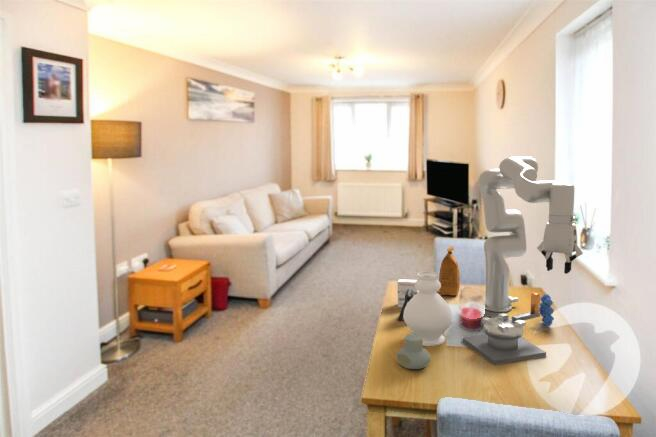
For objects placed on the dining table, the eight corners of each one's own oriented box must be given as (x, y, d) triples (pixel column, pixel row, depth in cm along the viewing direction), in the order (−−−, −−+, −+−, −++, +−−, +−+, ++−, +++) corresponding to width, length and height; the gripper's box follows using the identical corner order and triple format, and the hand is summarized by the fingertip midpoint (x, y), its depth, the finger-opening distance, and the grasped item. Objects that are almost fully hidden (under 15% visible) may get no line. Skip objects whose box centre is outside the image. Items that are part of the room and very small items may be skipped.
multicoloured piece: (502, 342, 166) (503, 309, 164) (475, 329, 177) (476, 298, 175) (552, 329, 175) (553, 298, 173) (523, 317, 187) (524, 288, 185)
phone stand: (421, 317, 207) (421, 289, 205) (419, 322, 202) (419, 294, 200) (399, 315, 210) (399, 288, 208) (397, 321, 204) (397, 293, 202)
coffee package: (462, 290, 241) (462, 245, 238) (458, 298, 230) (458, 251, 226) (441, 288, 245) (441, 244, 241) (436, 295, 234) (436, 250, 230)
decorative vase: (398, 345, 180) (398, 279, 176) (409, 327, 196) (408, 266, 192) (448, 352, 174) (449, 283, 170) (455, 333, 190) (455, 269, 186)
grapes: (531, 318, 202) (532, 290, 200) (548, 319, 201) (549, 290, 199) (538, 329, 191) (539, 299, 189) (556, 330, 190) (558, 300, 188)
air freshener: (434, 368, 162) (434, 339, 161) (416, 375, 158) (416, 345, 156) (410, 356, 171) (410, 329, 170) (392, 363, 166) (392, 335, 165)
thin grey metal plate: (510, 334, 187) (510, 319, 186) (546, 356, 168) (546, 339, 167) (462, 341, 182) (462, 325, 181) (493, 364, 163) (494, 347, 162)
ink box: (418, 304, 223) (418, 279, 221) (417, 308, 218) (417, 282, 216) (398, 303, 225) (398, 278, 223) (397, 307, 220) (397, 281, 218)
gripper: (591, 220, 165) (588, 273, 168) (539, 215, 177) (538, 265, 180) (583, 223, 160) (580, 278, 163) (531, 218, 172) (529, 269, 175)
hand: (558, 270), depth 171 cm, fingers open, 5 cm apart
